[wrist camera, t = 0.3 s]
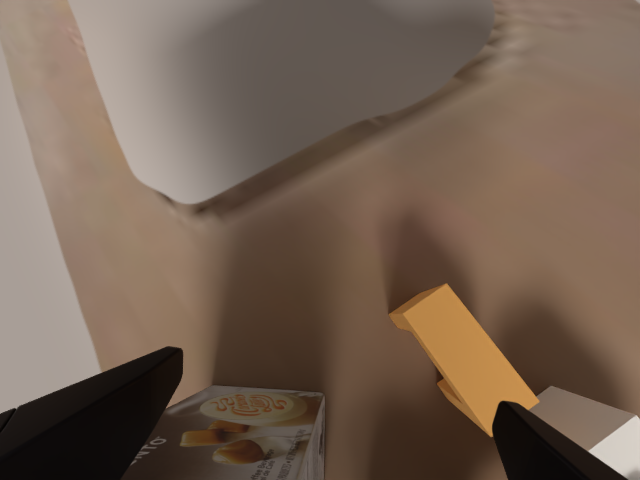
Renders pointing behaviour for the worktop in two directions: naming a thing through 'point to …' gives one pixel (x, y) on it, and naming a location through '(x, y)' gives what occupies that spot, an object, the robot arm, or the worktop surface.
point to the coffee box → (236, 437)
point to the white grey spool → (594, 428)
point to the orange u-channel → (462, 355)
